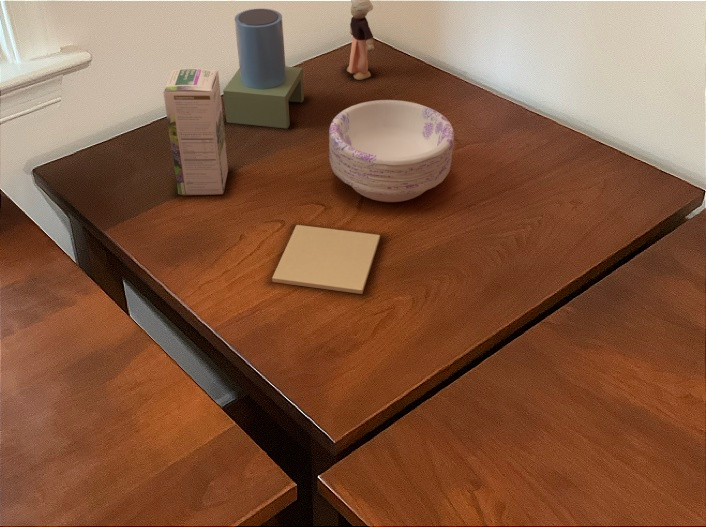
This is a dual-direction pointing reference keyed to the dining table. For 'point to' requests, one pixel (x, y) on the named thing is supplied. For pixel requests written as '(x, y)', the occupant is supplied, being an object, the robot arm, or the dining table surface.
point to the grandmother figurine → (360, 39)
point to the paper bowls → (390, 149)
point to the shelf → (263, 101)
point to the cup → (260, 48)
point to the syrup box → (196, 131)
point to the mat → (327, 259)
